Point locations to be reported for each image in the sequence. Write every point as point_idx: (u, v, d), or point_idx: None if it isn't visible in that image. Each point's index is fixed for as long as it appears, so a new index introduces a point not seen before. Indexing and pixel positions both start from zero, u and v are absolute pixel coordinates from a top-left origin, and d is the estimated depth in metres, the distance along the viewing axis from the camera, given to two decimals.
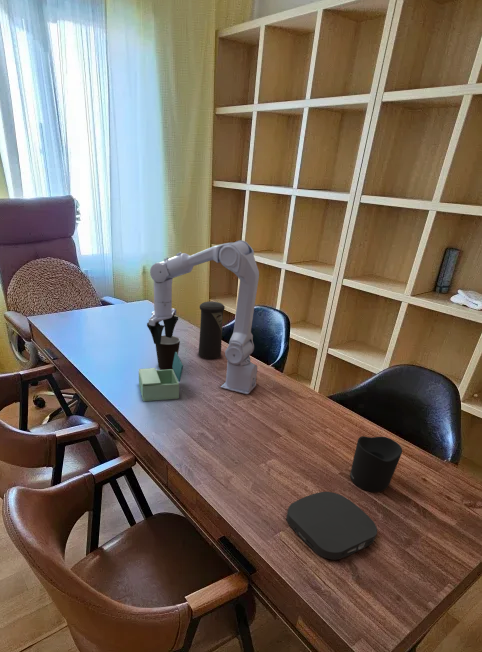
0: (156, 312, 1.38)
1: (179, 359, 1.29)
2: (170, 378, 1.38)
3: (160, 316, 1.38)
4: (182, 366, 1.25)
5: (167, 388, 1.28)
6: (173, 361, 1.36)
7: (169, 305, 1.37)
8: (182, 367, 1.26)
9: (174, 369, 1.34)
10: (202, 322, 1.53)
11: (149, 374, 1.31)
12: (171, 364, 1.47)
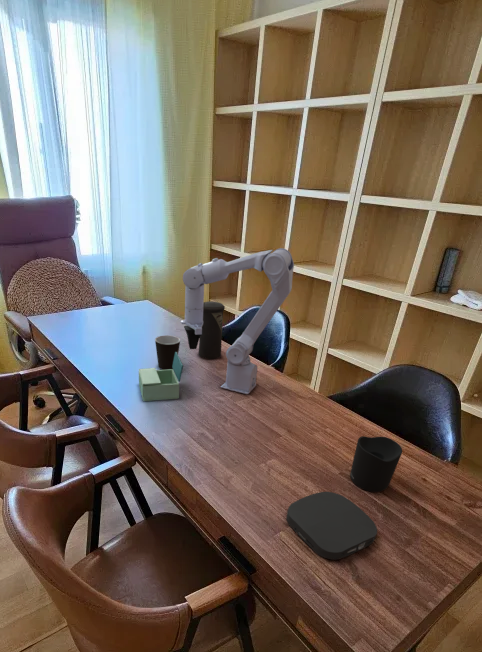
0: (193, 320, 1.31)
1: (179, 359, 1.29)
2: (170, 378, 1.38)
3: (198, 323, 1.32)
4: (182, 366, 1.25)
5: (167, 388, 1.28)
6: (173, 361, 1.36)
7: None
8: (182, 367, 1.26)
9: (174, 369, 1.34)
10: None
11: (149, 374, 1.31)
12: (171, 364, 1.47)
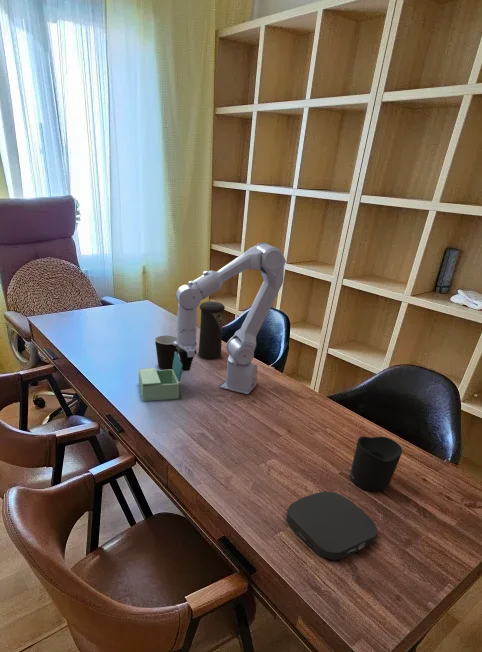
0: (185, 342, 1.25)
1: (179, 359, 1.29)
2: (170, 378, 1.38)
3: (190, 345, 1.25)
4: (182, 366, 1.25)
5: (167, 388, 1.28)
6: (173, 361, 1.36)
7: None
8: (182, 367, 1.26)
9: (174, 369, 1.34)
10: (202, 322, 1.53)
11: (149, 374, 1.31)
12: (171, 364, 1.47)
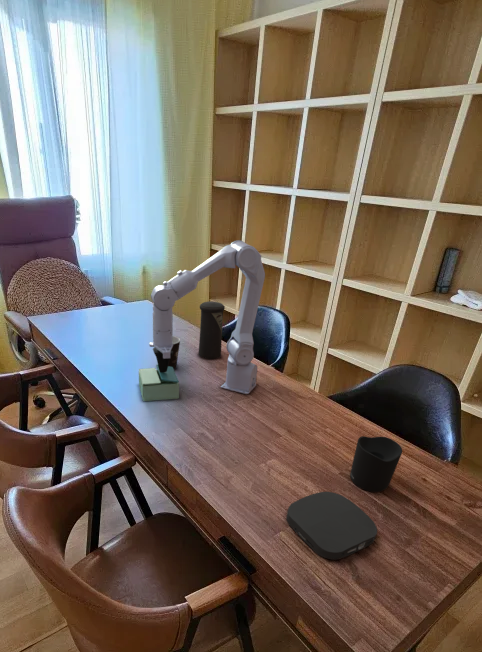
0: (161, 343, 1.23)
1: (159, 373, 1.30)
2: None
3: (166, 346, 1.24)
4: (162, 379, 1.26)
5: (167, 388, 1.28)
6: None
7: (172, 332, 1.25)
8: (163, 379, 1.26)
9: None
10: (202, 322, 1.53)
11: (149, 374, 1.31)
12: (171, 364, 1.47)
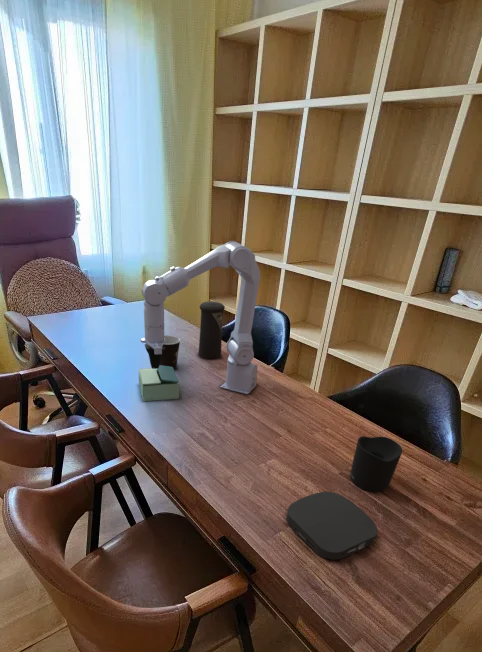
0: (152, 338, 1.22)
1: (159, 373, 1.30)
2: None
3: (158, 342, 1.23)
4: (162, 379, 1.26)
5: (167, 388, 1.28)
6: None
7: None
8: (163, 379, 1.26)
9: None
10: (202, 322, 1.53)
11: (149, 374, 1.31)
12: (171, 364, 1.47)
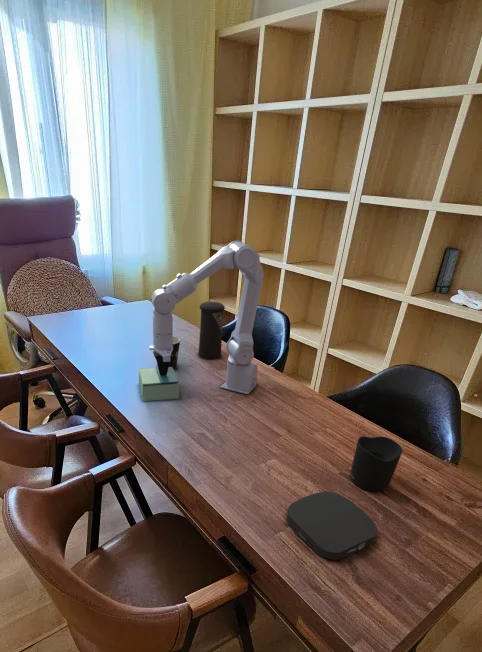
0: (161, 346, 1.24)
1: None
2: None
3: (166, 349, 1.24)
4: (162, 382, 1.27)
5: (167, 388, 1.28)
6: None
7: (172, 335, 1.25)
8: (163, 382, 1.27)
9: None
10: (202, 322, 1.53)
11: (149, 374, 1.31)
12: (171, 364, 1.47)
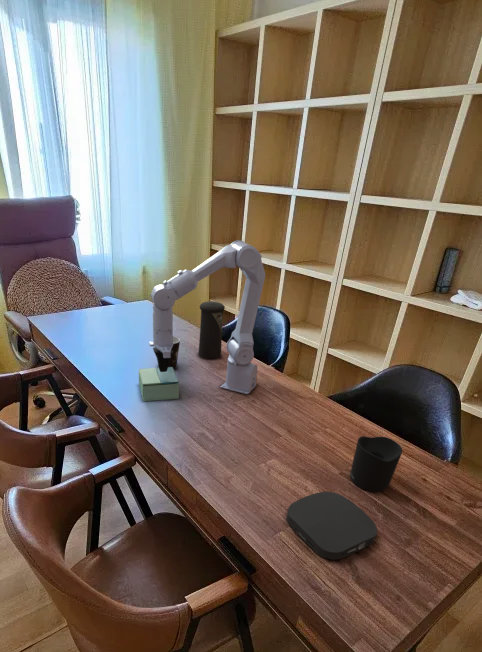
0: (161, 342, 1.23)
1: None
2: None
3: (167, 345, 1.24)
4: (162, 383, 1.27)
5: (167, 388, 1.28)
6: None
7: (172, 331, 1.24)
8: (163, 383, 1.27)
9: None
10: (202, 322, 1.53)
11: (149, 374, 1.31)
12: (171, 364, 1.47)
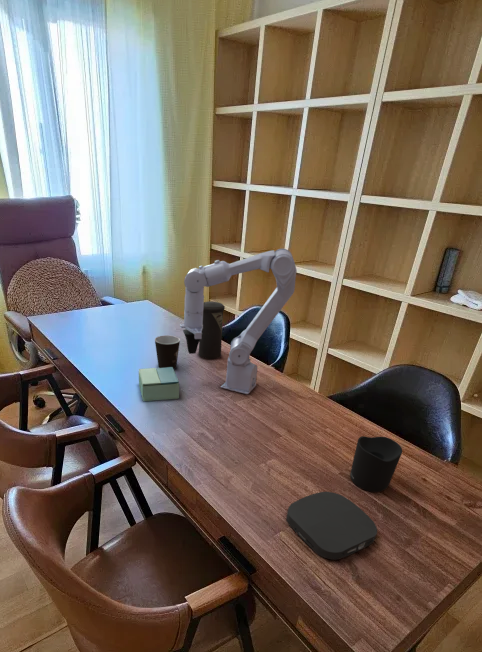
0: (192, 324, 1.28)
1: None
2: None
3: (197, 327, 1.29)
4: (162, 383, 1.27)
5: (167, 388, 1.28)
6: None
7: (202, 314, 1.29)
8: (163, 383, 1.27)
9: None
10: None
11: (149, 374, 1.31)
12: (171, 364, 1.47)
